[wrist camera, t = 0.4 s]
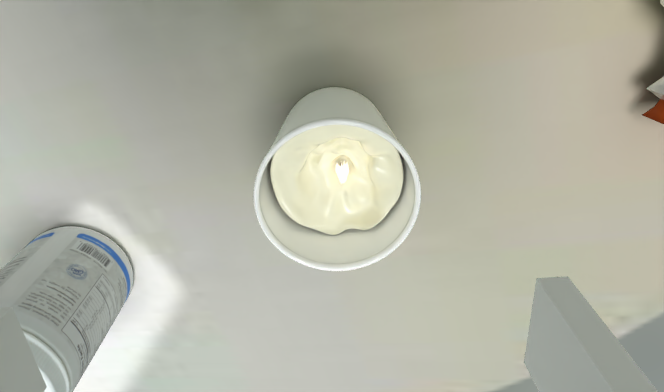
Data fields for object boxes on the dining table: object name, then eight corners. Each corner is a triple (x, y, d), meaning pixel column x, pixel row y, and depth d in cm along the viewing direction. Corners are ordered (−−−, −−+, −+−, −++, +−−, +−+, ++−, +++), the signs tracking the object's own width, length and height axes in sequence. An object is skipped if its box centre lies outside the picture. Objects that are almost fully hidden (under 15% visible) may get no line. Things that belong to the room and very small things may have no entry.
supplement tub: (45, 309, 46) (-70, 448, 32) (16, 222, 42) (-130, 340, 28) (146, 307, 46) (73, 445, 32) (127, 220, 42) (34, 336, 28)
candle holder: (403, 179, 40) (432, 255, 29) (291, 202, 41) (278, 285, 30) (383, 63, 36) (407, 102, 25) (258, 91, 37) (230, 141, 26)
